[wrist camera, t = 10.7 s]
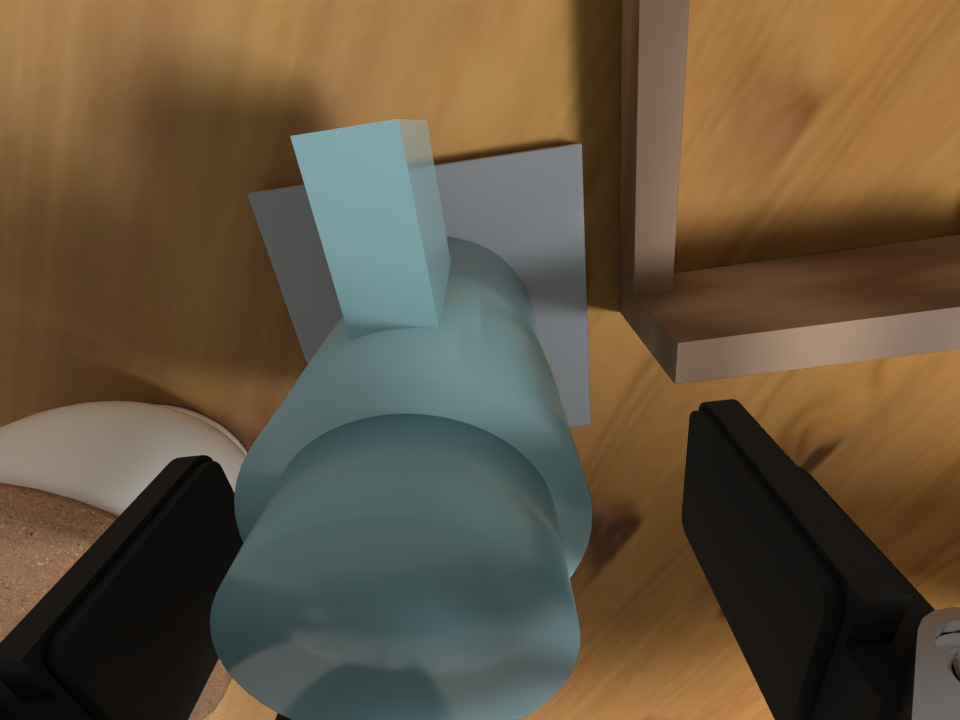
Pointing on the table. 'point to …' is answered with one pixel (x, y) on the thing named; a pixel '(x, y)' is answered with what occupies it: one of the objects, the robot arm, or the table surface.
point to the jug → (407, 473)
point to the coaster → (476, 218)
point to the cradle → (757, 285)
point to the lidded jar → (90, 491)
